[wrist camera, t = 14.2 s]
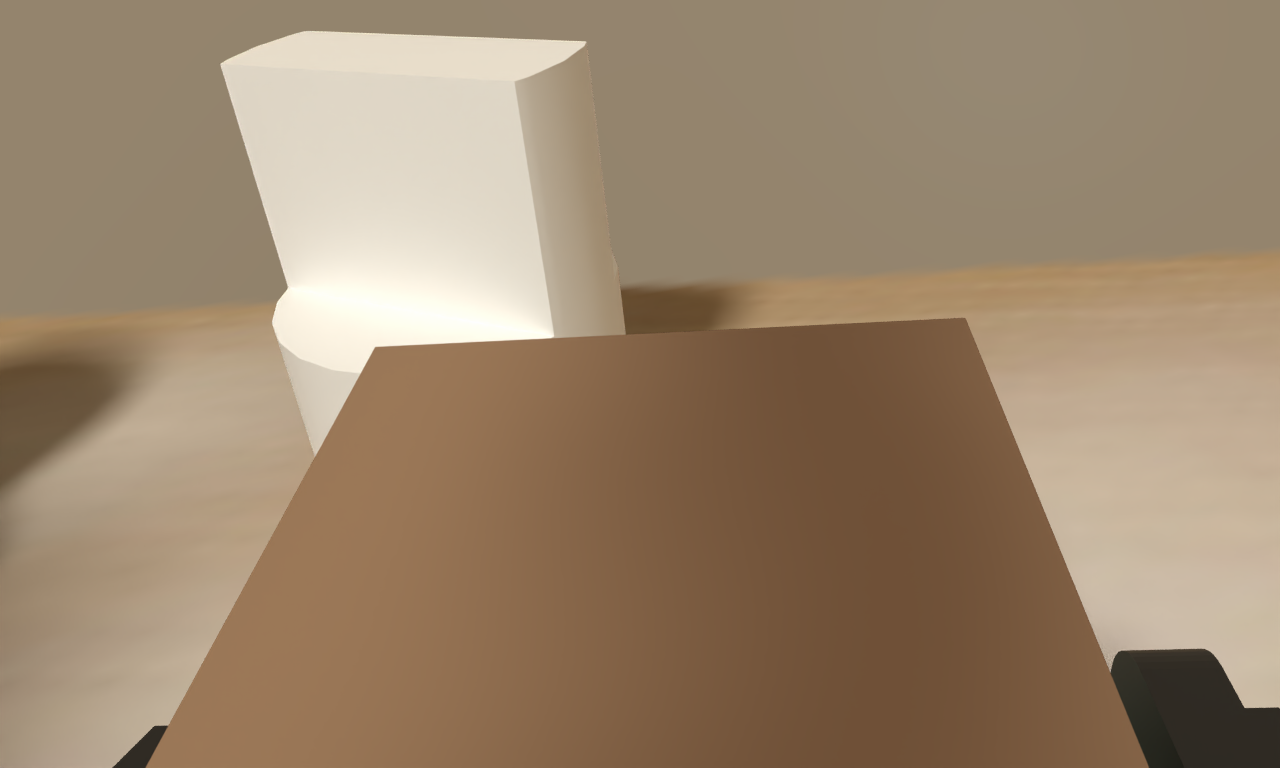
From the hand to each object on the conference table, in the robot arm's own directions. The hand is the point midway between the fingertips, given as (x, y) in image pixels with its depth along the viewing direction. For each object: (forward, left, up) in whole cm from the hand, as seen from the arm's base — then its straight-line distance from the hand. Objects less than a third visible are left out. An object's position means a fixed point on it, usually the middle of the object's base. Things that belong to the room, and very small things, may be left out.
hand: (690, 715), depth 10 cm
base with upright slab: (-18, +6, -10) cm, 21 cm away
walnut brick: (+1, -1, -8) cm, 8 cm away
